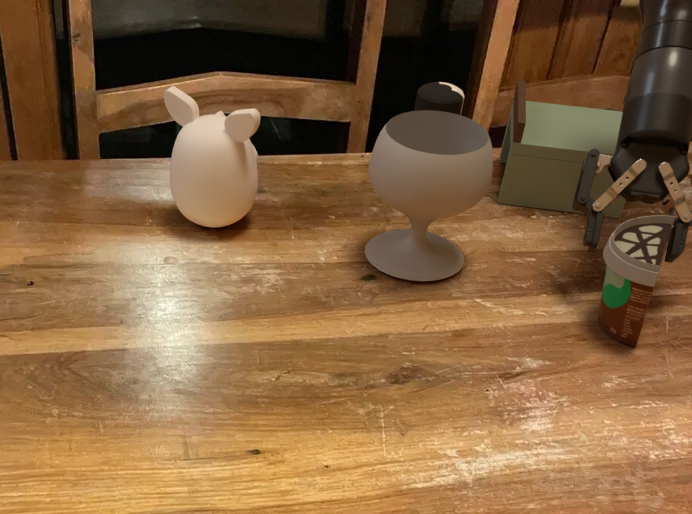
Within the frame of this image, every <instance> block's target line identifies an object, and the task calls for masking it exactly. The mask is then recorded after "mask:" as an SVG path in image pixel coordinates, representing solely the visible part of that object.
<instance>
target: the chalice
mask: <svg viewBox="0 0 692 514" xmlns="http://www.w3.org/2000/svg"><path fill="white" fill-rule="evenodd" d="M493 169H494V149H493V145H492V140H491V137H490V135H489V132H488V130H487V129H486V128H485V127H484V126H483V125H482V124H480V123H479V122H477V121H475V120H473V119H471V118H470V117H467V116H463V115H462V114H461V115H458V114H453V113H449V112H442V111H428V110H423V111H414V110H412V111H407V112H402V113H400V114H399V113H398V114H397V115H395V116H393V117H391V118H390V119H389V120H388V121H387V122H386V123H385V125H384V126H383V127H382V129H381V130H380V132H379V134H378V136H377V138H376V140H375V143H374V146H373V149H372V151H371V154H370V158H369V161H368V169H367V170H368V180H369V183H370V185H371V187H372V189H373V190H374V192H375V194H376V196H377V197H378V198H379V199H380V200H381V201H382V202H383V203H385V204H386V205H388V206H389V207H390V208H392V209H394V210H395V211H398V212H399V213H401V214H403V215H405V216H406V218H407V219H408V220H409V223H410V228H398V229H397V228H396V229H391V230H387V231H384V232H381V233H379V234H377V235H375V236H373V237H372V238H371V239H369V241H367V243H366V245H365V247H364V255H365V257H366V259H367V261H368V262H369V263H370V264H371V265H372V266H373V267H375V268H376V269H377V270H378V271H380V272H382V273H385V275H389V276H391V277H394V278H397V279H402V280H406V281H414V282H431V281H432V282H434V281H440V280H444V279H447V278H450V277H452V276H453V275H455V274H457V273H459V271H460V270H461V269H462V268H463V266H464V263H465V258H464V254H463V251H461V249H460V248H459V247H458V246H457V244H455V242H453V241H451V240H449V239H448V238H447V237H444V236H443V235H441V234H438V233H434V232H432V231H428V228H429V227H430V226H431V224H432V223H434V222H435V221H437V220H439V219H445V218H449V217H453V216H454V217H455V216H457V215H460V214H463V213H465V212H467V211H469V210H470V209H472V208H474V207H475V206H477V204H479V203H480V202H481V201H482V199H483V198H484V197H485V196H486V194H487V193H488V191H489V189H490V186H491V183H492V178H493Z"/></svg>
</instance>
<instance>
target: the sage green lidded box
mask: <svg viewBox="0 0 692 514" xmlns="http://www.w3.org/2000/svg"><path fill="white" fill-rule="evenodd" d="M526 96H527V95H526V80H525V79H518V80H517V83H516V87H515V91H514V95H513V99H512V102H511V107H510V112H509V115H508V121H507V123H506V128H505V132H504V136H503V140H502V144H501V148H500V152H499V157H498V163H500V164H505V169H504V173H503V177H502V179H501V184H500V188H499V191H498V197H497V204H500V205H501V204H502V205H509V206H516V207H525V208H531V209H532V208H533V209H539V210H540V209H541V210H548V211H556V212H564V213H572V214H581V215H586V214H585V213H583V212H581V211H575V210H574V209H573V207H572V204H573V200H574V196H575V192H576V188H577V184H578V180H579V176H580V172H581V168H582V164H583V161H584V159H585V158H586V156H587V154H588V153H589V151H590V150H591V149H598V150H599V152H600V154H603V155H608V156H613V155H614V153H615V150H616V144H617V139H618V134H619V129H620V124H621V118H622V113H623V111H621V110H611V109H605V108H604V109H603V108H601V109H600V108H593V107H586V106H585V107H584V106H576V105H566V104H558V103H551V102H542V101H534V100H533V101H532V100H526ZM613 183H614V182H613V180H612V178H611V176H610V174H609V172H608V168H603V169H602V171H601V172H600V174H599V175H597V176H594V179H593V183H592V187H591V191H590V195H589V197H591V198H593V199H594V200H597V199H598V198H599V197H600V196H601V195H602V194H604V193H605V192H606V191H607V190H608V188H609V187H610V186H611V185H612V184H613ZM626 203H627V201H625V199H624V198H623V197H621V195H620V196H619V197H618V198H617V199H616V200H615V201H613V202H612V203H611V204H610V205H609V206H608V207H607V208H606V209H605V210H604V211H603V212H602V213H604V217H603V218H613V219H621V217H622V214H623V210H624V208H625V205H626Z"/></svg>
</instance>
